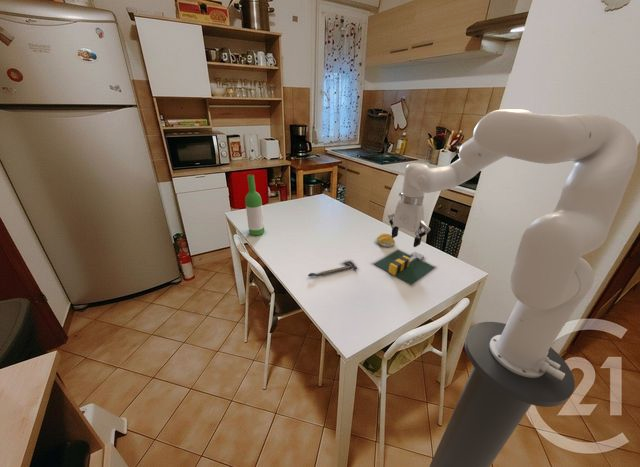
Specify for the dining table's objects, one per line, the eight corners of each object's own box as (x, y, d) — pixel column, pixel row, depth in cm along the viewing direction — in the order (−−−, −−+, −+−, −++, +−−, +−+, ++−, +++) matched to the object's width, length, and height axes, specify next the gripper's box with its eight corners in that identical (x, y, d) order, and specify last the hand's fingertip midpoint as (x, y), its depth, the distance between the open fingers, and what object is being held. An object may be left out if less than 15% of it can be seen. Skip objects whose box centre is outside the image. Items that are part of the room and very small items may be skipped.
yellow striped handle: (423, 257, 116) (425, 250, 114) (395, 276, 104) (397, 267, 102) (414, 253, 119) (416, 246, 117) (386, 271, 107) (388, 262, 105)
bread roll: (391, 238, 132) (392, 231, 130) (395, 247, 124) (397, 239, 122) (374, 238, 132) (375, 231, 130) (378, 247, 124) (379, 239, 122)
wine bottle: (266, 229, 138) (261, 173, 124) (262, 236, 132) (256, 178, 118) (252, 228, 139) (245, 172, 125) (247, 235, 132) (239, 177, 118)
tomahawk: (350, 262, 113) (350, 260, 113) (357, 270, 108) (357, 267, 107) (304, 271, 107) (304, 268, 106) (309, 279, 101) (309, 276, 101)
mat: (434, 267, 110) (434, 267, 110) (411, 284, 99) (411, 284, 99) (398, 250, 122) (398, 249, 122) (373, 264, 111) (373, 263, 111)
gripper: (385, 195, 97) (380, 236, 105) (429, 208, 86) (420, 253, 93) (397, 191, 102) (392, 231, 109) (440, 203, 90) (430, 246, 98)
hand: (405, 241), depth 101 cm, fingers open, 9 cm apart
